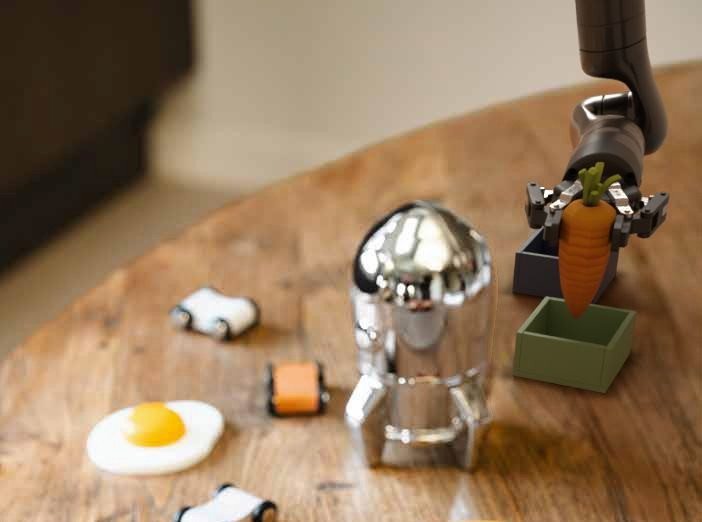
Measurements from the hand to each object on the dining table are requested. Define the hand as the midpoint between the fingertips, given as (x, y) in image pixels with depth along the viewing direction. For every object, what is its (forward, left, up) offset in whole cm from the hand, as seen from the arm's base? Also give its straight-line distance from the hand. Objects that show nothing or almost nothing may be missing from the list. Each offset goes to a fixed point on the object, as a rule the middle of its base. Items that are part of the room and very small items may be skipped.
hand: (584, 238), depth 109 cm
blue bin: (+7, -21, -14) cm, 26 cm away
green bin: (0, -2, -14) cm, 14 cm away
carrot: (+1, -3, -9) cm, 10 cm away
